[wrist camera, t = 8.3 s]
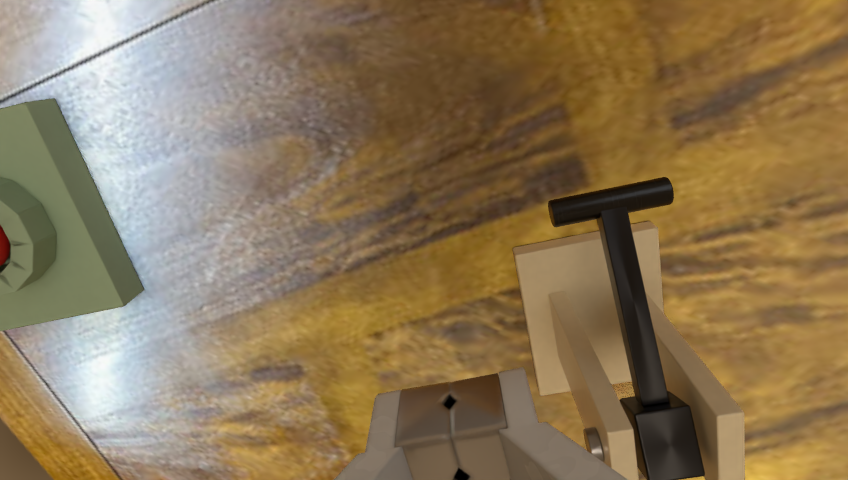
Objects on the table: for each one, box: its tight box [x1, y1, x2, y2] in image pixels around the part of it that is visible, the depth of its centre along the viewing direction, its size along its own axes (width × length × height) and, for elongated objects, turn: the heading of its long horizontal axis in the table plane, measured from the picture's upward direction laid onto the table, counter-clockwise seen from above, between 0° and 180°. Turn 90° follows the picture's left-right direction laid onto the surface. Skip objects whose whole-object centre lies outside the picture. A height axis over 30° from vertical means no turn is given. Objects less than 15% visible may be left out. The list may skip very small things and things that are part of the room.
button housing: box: [0, 98, 144, 331], centre depth 29 cm, size 12×10×4 cm
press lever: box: [548, 177, 705, 480], centre depth 22 cm, size 12×5×2 cm, turn 13°
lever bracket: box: [513, 221, 745, 480], centre depth 26 cm, size 10×8×13 cm
